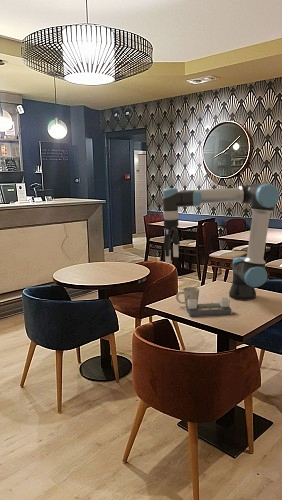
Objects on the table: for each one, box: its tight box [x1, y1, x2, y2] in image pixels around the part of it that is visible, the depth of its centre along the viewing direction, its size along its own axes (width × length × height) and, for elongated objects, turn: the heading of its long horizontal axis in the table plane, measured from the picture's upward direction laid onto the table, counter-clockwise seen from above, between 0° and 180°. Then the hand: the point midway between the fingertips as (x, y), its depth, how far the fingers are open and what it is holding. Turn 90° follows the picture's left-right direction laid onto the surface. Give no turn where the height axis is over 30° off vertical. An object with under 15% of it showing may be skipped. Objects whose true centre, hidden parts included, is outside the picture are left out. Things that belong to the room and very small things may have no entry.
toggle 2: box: [219, 297, 231, 308], centre depth 203 cm, size 4×4×4 cm
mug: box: [175, 286, 200, 309], centre depth 212 cm, size 8×13×10 cm, turn 78°
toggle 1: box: [188, 299, 197, 309], centre depth 202 cm, size 4×4×4 cm
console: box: [186, 302, 232, 318], centre depth 203 cm, size 21×10×3 cm, turn 94°
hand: (172, 259), depth 205 cm, fingers open, 13 cm apart
